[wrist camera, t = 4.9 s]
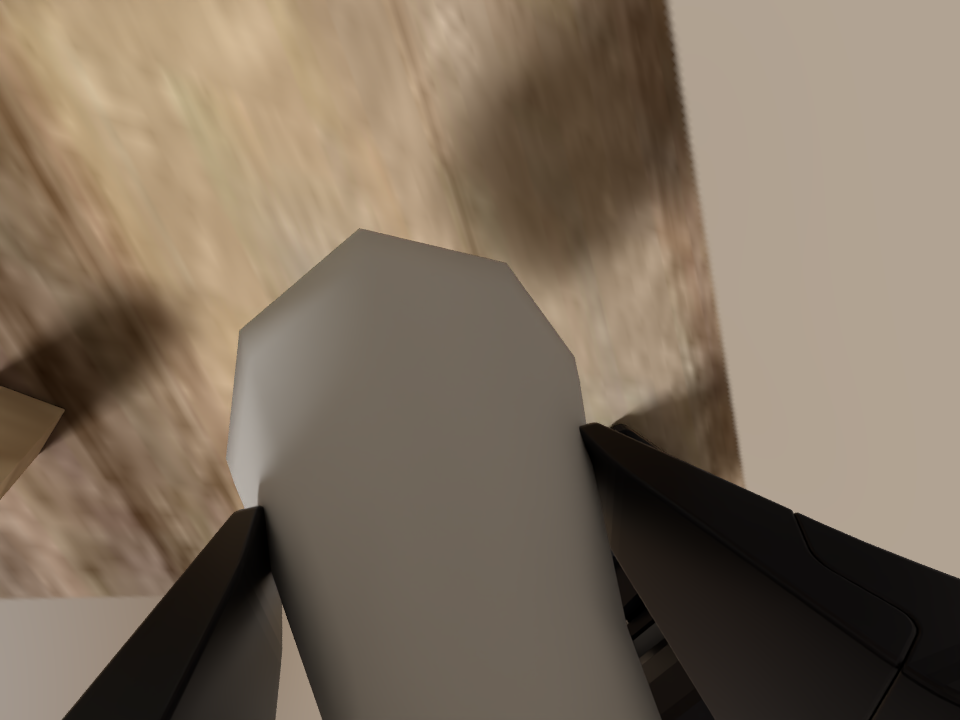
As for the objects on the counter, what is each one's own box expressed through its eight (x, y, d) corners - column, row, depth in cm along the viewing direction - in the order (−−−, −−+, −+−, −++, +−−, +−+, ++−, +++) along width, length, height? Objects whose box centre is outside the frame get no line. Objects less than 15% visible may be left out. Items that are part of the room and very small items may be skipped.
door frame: (373, -101, 12) (399, -223, 7) (37, 455, 15) (-75, 588, 11) (298, -185, 11) (278, -379, 6) (-41, 430, 15) (-196, 564, 10)
